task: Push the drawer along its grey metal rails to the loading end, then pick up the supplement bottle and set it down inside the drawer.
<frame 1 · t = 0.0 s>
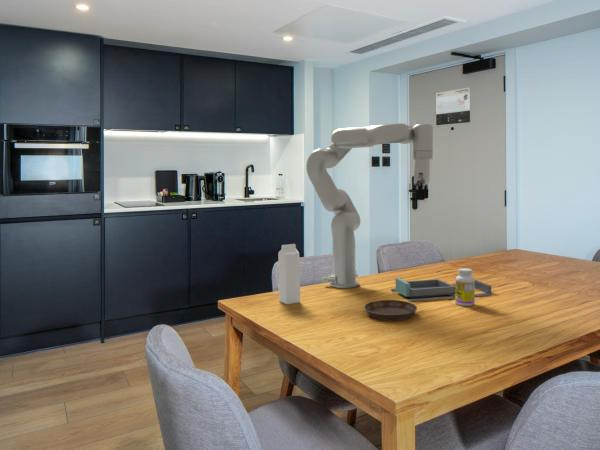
hand: (422, 199, 200), 37 cm above the table, tool pointing down, fingers open, 9 cm apart
plant saucer: (390, 315, 172), on the table
supplement bottle: (464, 304, 183), on the table
rails: (439, 293, 200), on the table
drawer: (423, 286, 198), point 3 cm above the table, slide at 0.0 cm
milk: (289, 302, 191), on the table
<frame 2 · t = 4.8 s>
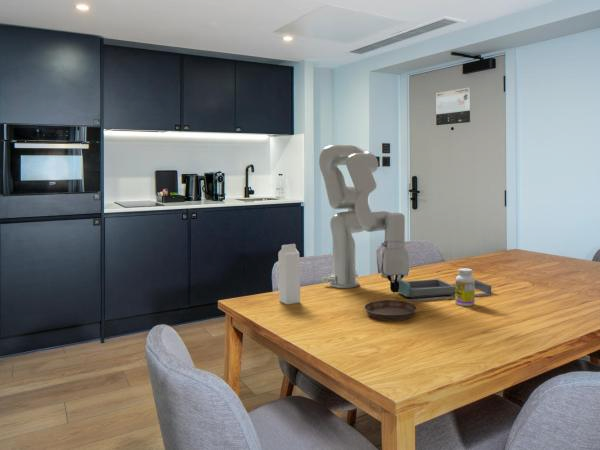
hand: (394, 291, 195), 2 cm above the table, tool pointing down, fingers closed
drawer: (424, 286, 198), point 3 cm above the table, slide at 0.1 cm, touching gripper
everything else where it was.
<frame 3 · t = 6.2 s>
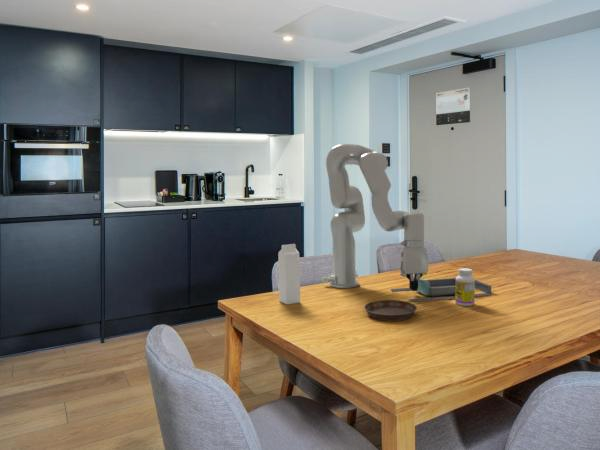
hand: (413, 290, 197), 2 cm above the table, tool pointing down, fingers closed
drawer: (442, 285, 200), point 3 cm above the table, slide at 8.1 cm, touching gripper
everything else where it was.
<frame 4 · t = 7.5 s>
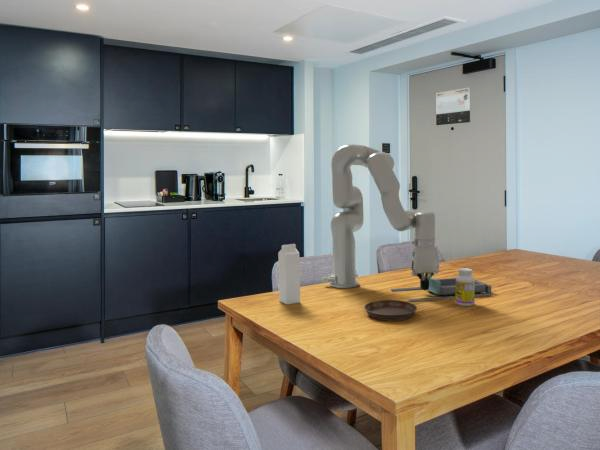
hand: (424, 289, 198), 2 cm above the table, tool pointing down, fingers closed
drawer: (453, 284, 201), point 3 cm above the table, slide at 12.7 cm, touching gripper
everything else where it was.
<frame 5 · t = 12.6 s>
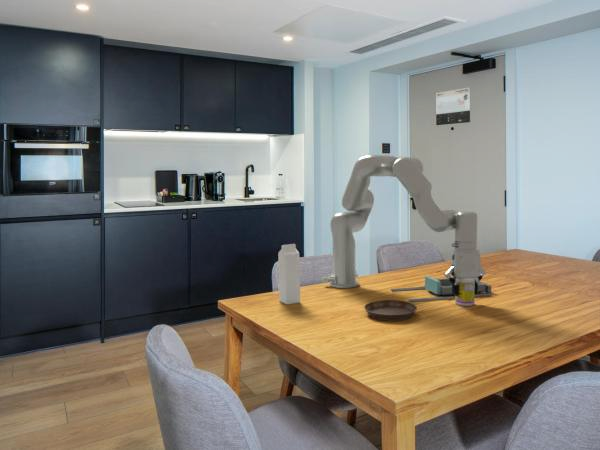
hand: (464, 293, 183), 4 cm above the table, tool pointing down, fingers closed on supplement bottle, 6 cm apart
supplement bottle: (464, 304, 183), on the table, touching gripper
drawer: (453, 284, 201), point 3 cm above the table, slide at 12.7 cm
everything else where it was.
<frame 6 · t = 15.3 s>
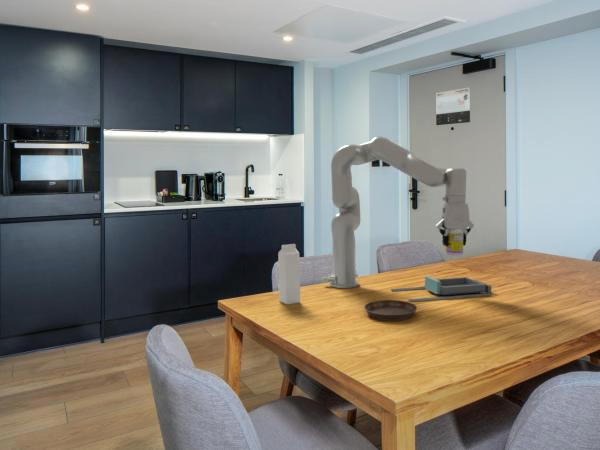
hand: (454, 244, 198), 19 cm above the table, tool pointing down, fingers closed on supplement bottle, 6 cm apart
supplement bottle: (454, 254, 198), point 15 cm above the table, touching gripper
everything else where it was.
when the fingers open (6 cm above the table, at t = 18.4 s): supplement bottle drops 1 cm, resting on drawer.
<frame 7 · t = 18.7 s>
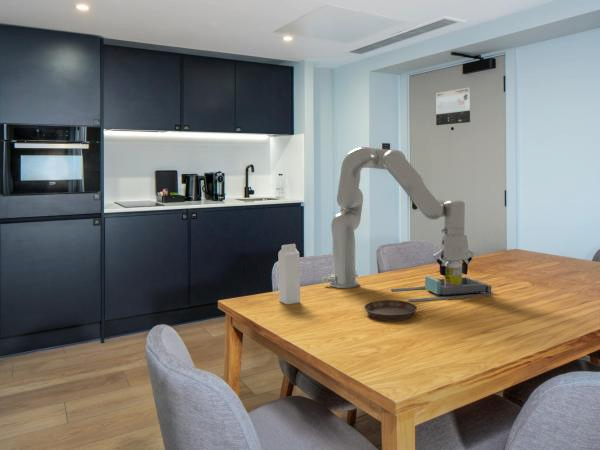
hand: (453, 274, 200), 7 cm above the table, tool pointing down, fingers open, 9 cm apart
supplement bottle: (452, 288, 201), point 1 cm above the table, touching drawer
drawer: (453, 284, 201), point 3 cm above the table, slide at 12.8 cm, touching supplement bottle
everything else where it was.
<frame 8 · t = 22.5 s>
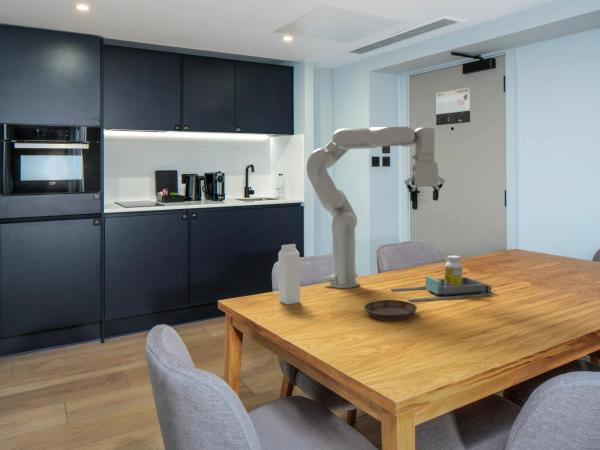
hand: (424, 200, 205), 36 cm above the table, tool pointing down, fingers open, 9 cm apart
nothing on the table moved.
at the end: drawer slide at 13.0 cm; supplement bottle inside the target area on the drawer (1.0 cm from its centre), point 1.4 cm above the drawer's base; supplement bottle tilted 0° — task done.
